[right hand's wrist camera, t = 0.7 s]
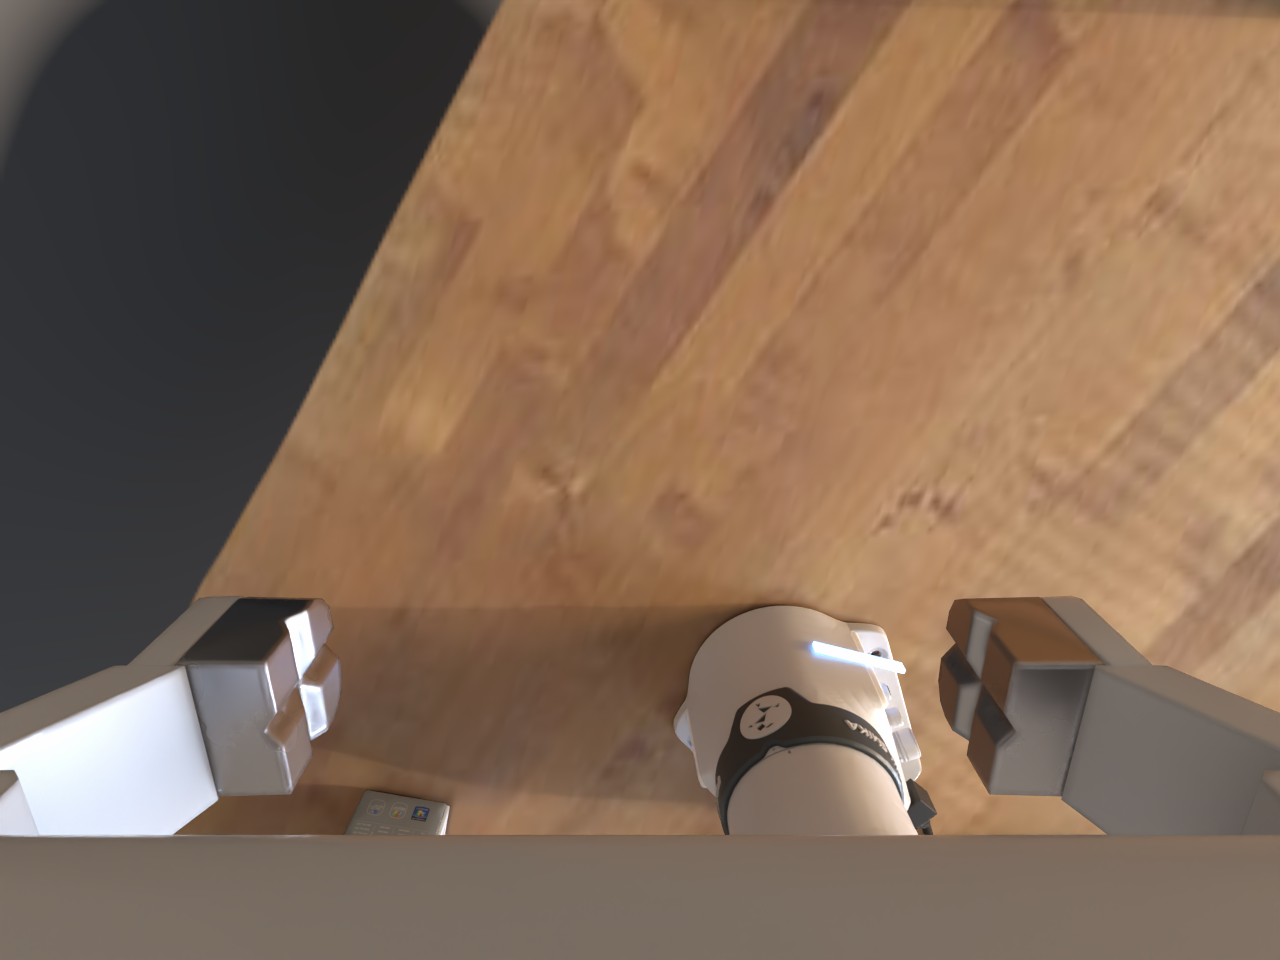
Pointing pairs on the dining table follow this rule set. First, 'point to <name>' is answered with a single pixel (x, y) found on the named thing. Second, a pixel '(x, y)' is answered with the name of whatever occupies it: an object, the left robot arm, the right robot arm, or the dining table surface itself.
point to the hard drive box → (397, 816)
